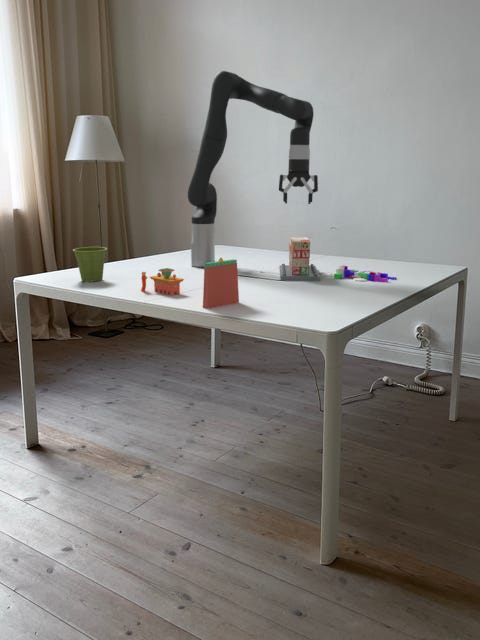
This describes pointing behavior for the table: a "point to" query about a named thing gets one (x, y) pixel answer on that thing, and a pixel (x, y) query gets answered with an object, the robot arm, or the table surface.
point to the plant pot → (90, 262)
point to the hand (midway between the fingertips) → (297, 203)
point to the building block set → (359, 275)
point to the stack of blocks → (299, 255)
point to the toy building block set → (216, 283)
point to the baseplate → (287, 275)
